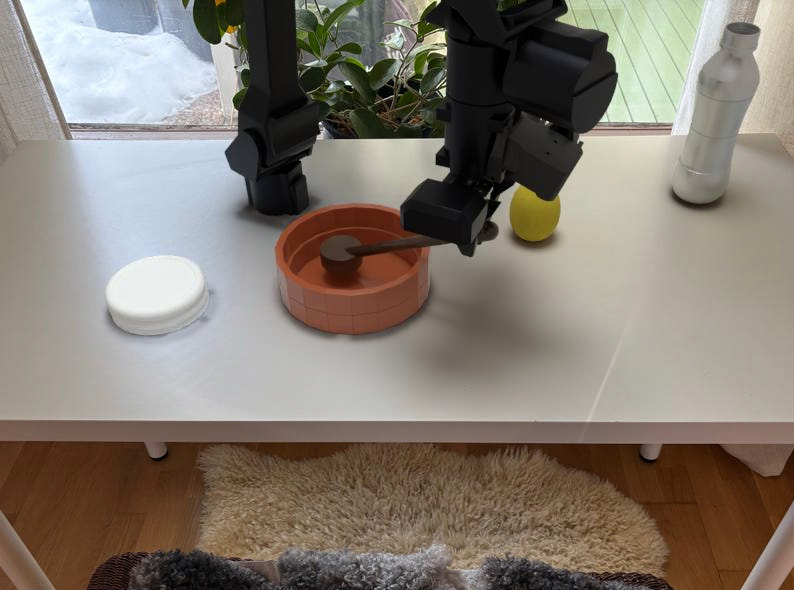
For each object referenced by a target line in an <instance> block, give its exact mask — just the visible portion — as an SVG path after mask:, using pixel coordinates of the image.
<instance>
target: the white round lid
mask: <svg viewBox="0 0 794 590" xmlns="http://www.w3.org/2000/svg"><path fill="white" fill-rule="evenodd" d="M208 287H209V286H208V283H207V279H206V275H205V272H204V271H203V269H202V267H201V266H200V265H199V264H197V262H195V261H193V260H191V259H189V258H186V257H183V256H179V255H170V254H162V255H161V254H160V255H153V256H148V257H143V258H141V259H137V260H135V261H133V262H131V263H129V264H126V265H125V266H123V267H122V268H120V269H119V270H117V271H116V273H115V274H114V275H112V277H111V278H110V279H109V281H108V282H107V284H106V287H105V290H104V299H105V300H104V301H105V304H106V305H107V306H108V311H109V314H110V315H111V318H112V320H113V322H114V324H115V325H116V326H117V327H118V328H119V329H121V330H123V331H125V332H127V333H131V334H133V335H140V336H157V335H165V334H168V333H169V334H170V333H173V332H176V331H178V330H180V329H183V328H185V327H187V326H190V325H191V324H192V323H194V322H195V321H196V320H198V318H200V317H201V316H202V314H203V313H204V312H205V311H206V309H207V307H208V305H209V302H210V292H209V288H208Z"/></svg>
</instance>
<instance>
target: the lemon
mask: <svg viewBox="0 0 794 590" xmlns="http://www.w3.org/2000/svg"><path fill="white" fill-rule="evenodd" d="M561 206H562V205H561V198H560V195H559V194H558V195H557V197H556V199H555V200H554V201H550V202H549V201H544V200H542V199H540V198H538V197H537V196H536V194H535V193H534V192H532V191H530V190H529V189H527V188H525V187H524V186H522V185H520V184H519V186H518V187H517V188H516V190H515V191H514V193H513V195H512V198H511V201H510V205H509V213H508V215H509V216H508V218H509V223H510V226H511V228H512V230H513V232H514V233H515V234H516V235H517V236H518V237H519V238H520V239H522V240H525V241H527V242H540V241H543V240H545V239H547V238H548V237H550V236H551V235H552V234H553V233H554V231H555V230H556V228H557V226H558V225H559V221H560V218H561V211H562V207H561Z"/></svg>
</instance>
